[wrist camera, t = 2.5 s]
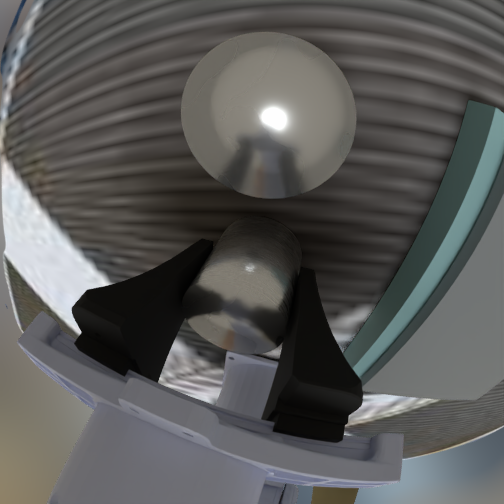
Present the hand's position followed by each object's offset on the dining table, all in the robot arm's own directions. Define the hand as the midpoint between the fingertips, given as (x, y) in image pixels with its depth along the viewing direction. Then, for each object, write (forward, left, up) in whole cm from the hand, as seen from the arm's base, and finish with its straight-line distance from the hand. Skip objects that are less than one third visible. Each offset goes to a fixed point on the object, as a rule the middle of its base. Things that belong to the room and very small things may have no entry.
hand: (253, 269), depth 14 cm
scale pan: (+2, -14, +1) cm, 15 cm away
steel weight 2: (0, 0, -1) cm, 1 cm away
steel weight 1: (+8, 0, -2) cm, 8 cm away
